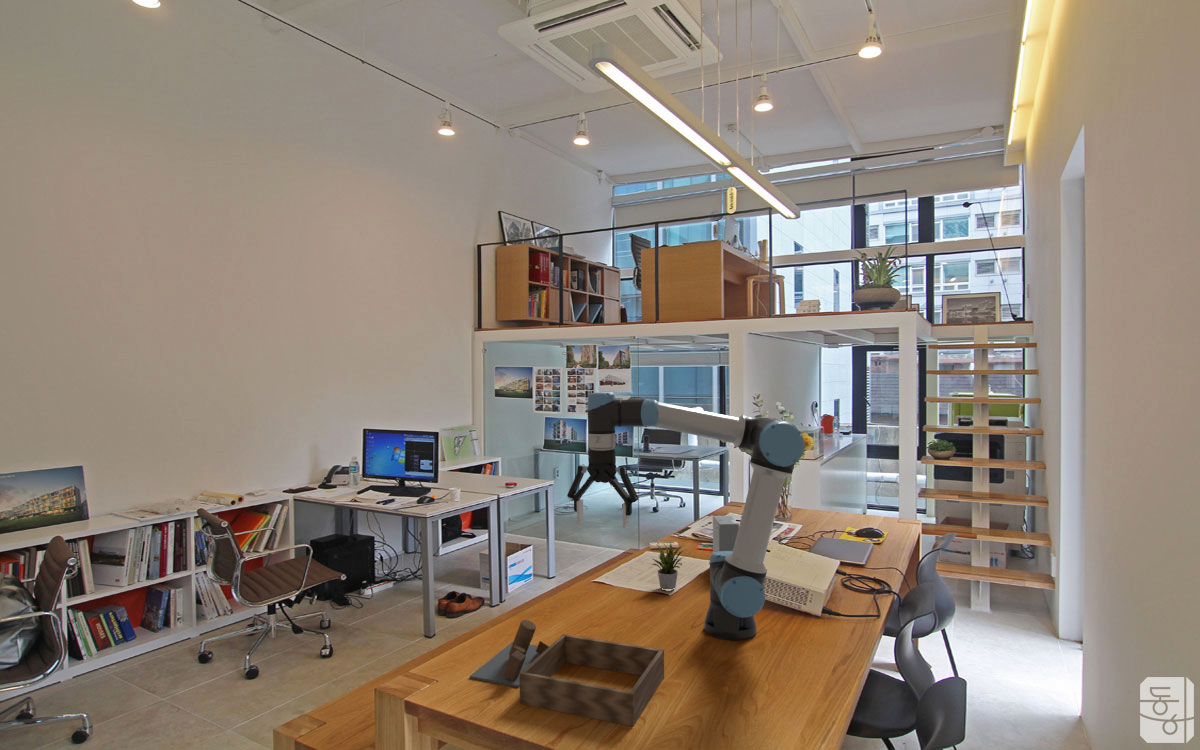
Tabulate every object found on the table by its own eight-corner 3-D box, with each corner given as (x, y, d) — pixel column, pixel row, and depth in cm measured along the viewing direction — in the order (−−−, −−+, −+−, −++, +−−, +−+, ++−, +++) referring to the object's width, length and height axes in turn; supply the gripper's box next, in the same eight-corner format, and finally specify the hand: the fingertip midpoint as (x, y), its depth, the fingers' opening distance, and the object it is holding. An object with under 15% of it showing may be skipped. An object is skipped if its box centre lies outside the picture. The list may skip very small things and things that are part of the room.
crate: (664, 677, 164) (663, 649, 164) (633, 726, 142) (632, 694, 142) (563, 660, 174) (563, 634, 174) (519, 703, 152) (519, 673, 152)
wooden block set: (516, 691, 161) (530, 656, 159) (488, 672, 164) (501, 638, 162) (547, 657, 178) (560, 626, 176) (521, 641, 181) (533, 610, 179)
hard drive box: (739, 578, 241) (739, 524, 241) (719, 578, 241) (718, 524, 241) (731, 565, 257) (731, 514, 256) (712, 565, 257) (711, 515, 256)
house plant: (698, 586, 232) (698, 540, 232) (681, 598, 220) (681, 550, 220) (662, 580, 240) (662, 535, 239) (644, 591, 228) (644, 544, 228)
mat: (557, 651, 180) (557, 649, 180) (518, 687, 160) (518, 685, 160) (512, 643, 185) (512, 641, 185) (469, 678, 165) (469, 675, 165)
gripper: (555, 448, 181) (556, 524, 181) (640, 451, 172) (641, 532, 172) (566, 445, 188) (567, 518, 188) (649, 448, 179) (649, 525, 179)
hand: (602, 525), depth 180 cm, fingers open, 13 cm apart
